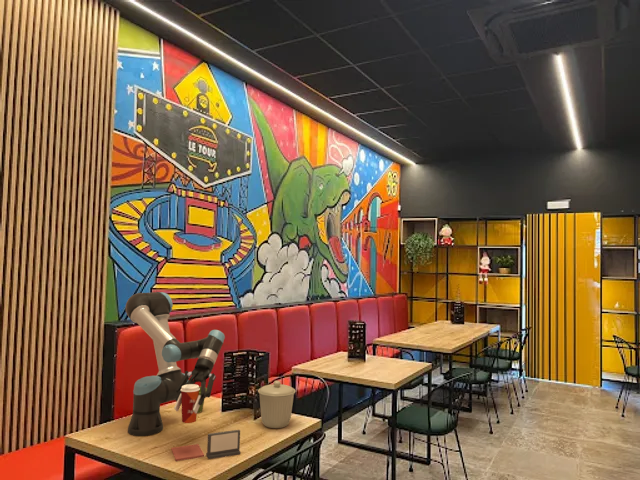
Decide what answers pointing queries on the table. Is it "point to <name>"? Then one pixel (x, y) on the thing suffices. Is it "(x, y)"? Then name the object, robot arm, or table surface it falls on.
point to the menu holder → (223, 444)
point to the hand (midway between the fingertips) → (185, 410)
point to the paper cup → (189, 402)
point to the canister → (276, 404)
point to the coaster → (187, 452)
